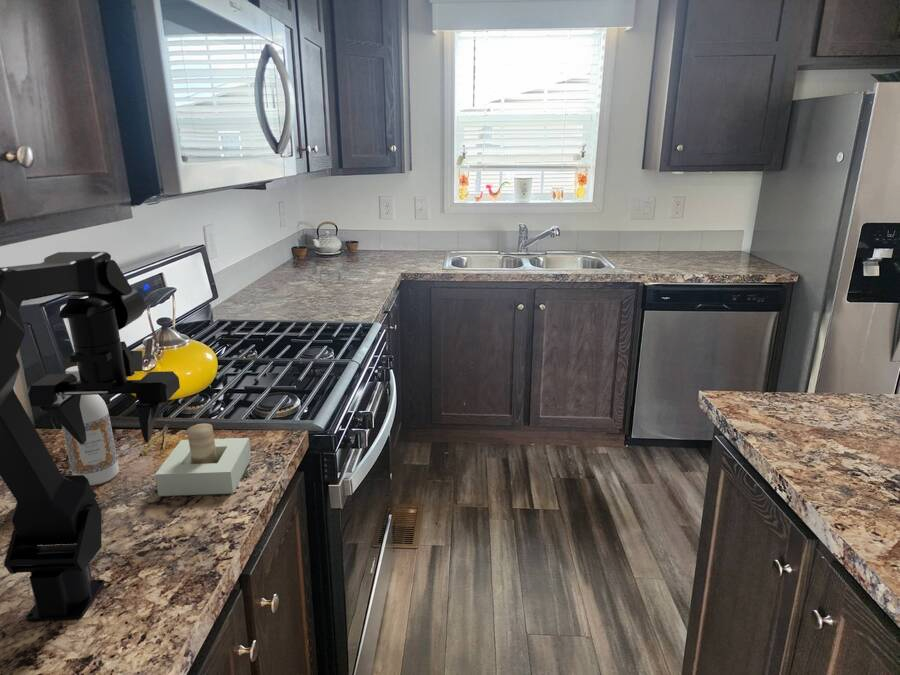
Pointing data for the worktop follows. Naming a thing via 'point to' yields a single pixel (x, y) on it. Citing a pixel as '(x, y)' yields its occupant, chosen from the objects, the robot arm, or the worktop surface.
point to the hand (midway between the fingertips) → (115, 441)
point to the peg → (202, 444)
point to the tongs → (144, 452)
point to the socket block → (204, 469)
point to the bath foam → (92, 441)
